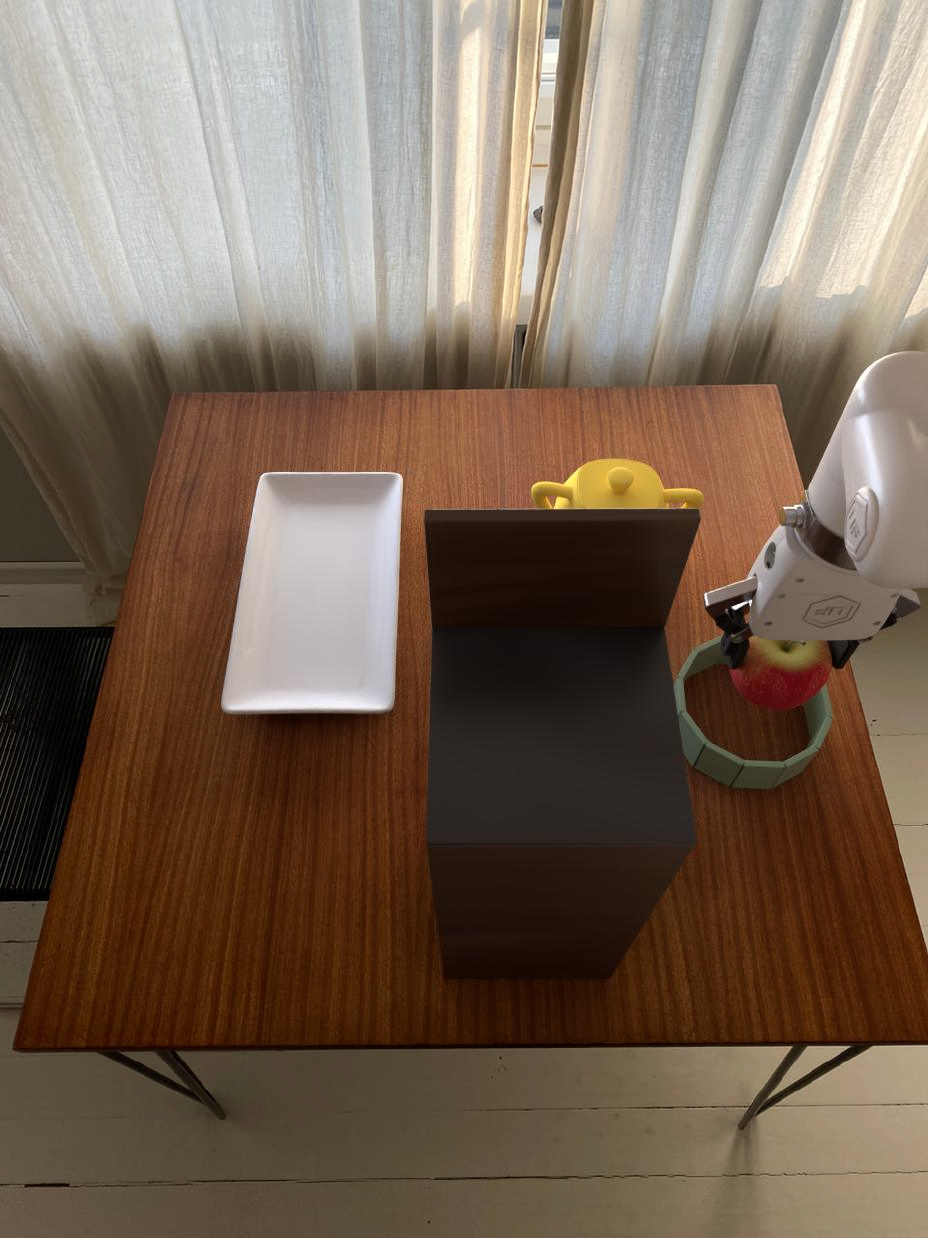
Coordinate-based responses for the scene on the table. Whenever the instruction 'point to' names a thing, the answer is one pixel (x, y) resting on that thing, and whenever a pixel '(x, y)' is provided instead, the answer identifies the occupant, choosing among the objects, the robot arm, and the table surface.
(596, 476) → the yellow two-handled pot
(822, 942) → the table surface
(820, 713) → the faceted green band
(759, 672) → the apple
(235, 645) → the tray
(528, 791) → the stand
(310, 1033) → the table surface
